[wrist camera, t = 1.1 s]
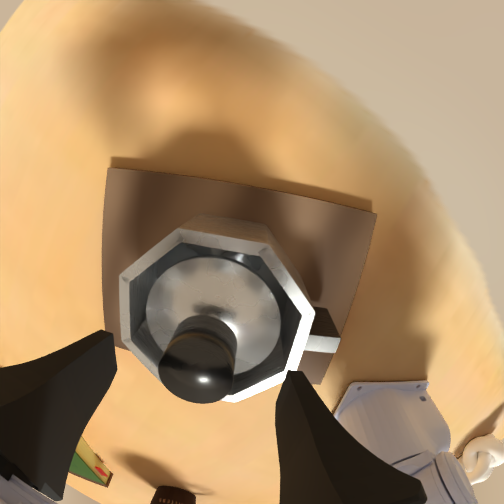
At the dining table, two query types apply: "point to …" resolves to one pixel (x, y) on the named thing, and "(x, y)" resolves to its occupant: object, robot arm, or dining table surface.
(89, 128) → the dining table surface
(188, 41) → the dining table surface
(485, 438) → the white knot ornament
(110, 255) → the serving board
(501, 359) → the dining table surface
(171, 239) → the silver octagonal piece
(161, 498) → the coffee mug
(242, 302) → the grey knobbed lid
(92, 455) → the hardcover book
